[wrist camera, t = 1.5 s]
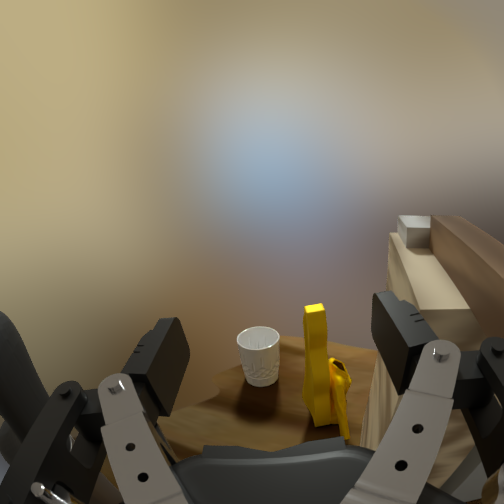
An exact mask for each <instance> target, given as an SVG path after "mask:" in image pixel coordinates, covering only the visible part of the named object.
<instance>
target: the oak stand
mask: <svg viewBox="0 0 504 504" xmlns="http://www.w3.org/2000/svg"><path fill="white" fill-rule="evenodd" d="M390 290H391V291H393V293H394V294H395V295H396V297H397V298H398V299H399V301H401V300H406V301H407V302H409V303H411V304H413V305H414V306H415V307H416V309H417V310H418V311H419V313H420V314H421V315H422V316H423V318H424V320H426V322H427V323H428V324H429V326H430V327H431V328H432V330H433V331H434V333H435V334H436V335H437V337H438V338H439V339H440V340H447V341H450V342H452V343H454V344H455V345H456V346H457V347H458V348H459V350H460V351H474V350H479V349H480V346H481V343H482V342H483V341H484V340H485V339H486V338H487V337H486V335H485V333H484V332H483V330H482V328H481V326H480V325H479V323H478V321H477V319H476V318H475V316H474V314H473V313H472V311H471V309H470V308H469V306H468V305H467V303H466V301H465V300H464V298H463V297H462V295H461V294H460V292H459V290H458V289H457V287H456V286H455V284H454V283H453V281H452V280H451V279H450V277H449V276H448V274H447V273H446V271H445V270H444V269H443V267H442V266H441V264H440V263H439V262H438V260H437V259H436V257H435V256H434V255H433V253H432V252H431V251H430V249H429V248H406V247H405V245H404V243H403V242H402V240H401V238H400V236H399V234H398V233H389V256H388V272H387V285H386V291H390ZM403 395H404V394H403ZM403 395H399V396H398V395H397V392H396V390H395V387H394V385H393V383H392V380H391V378H390V375H389V373H388V371H387V369H386V366H385V364H384V362H383V359H382V357H381V355H380V353H379V351H378V354H377V360H376V365H375V370H374V375H373V380H372V385H371V389H370V394H369V398H368V402H367V407H366V411H365V415H364V418H363V424H362V433H361V442H360V446H361V447H365V448H369V449H371V450H374V451H376V450H377V448H378V446H379V444H380V442H381V441H382V439H383V437H384V435H385V433H386V431H387V429H388V427H389V425H390V423H391V421H392V419H393V417H394V415H395V413H396V411H397V409H398V406H399V404H400V402H401V400H402V398H403ZM494 395H495V394H494ZM495 397H496V399H497V401H498V403H499V404H500V402H499V400H498V398H497V396H496V395H495ZM500 405H501V404H500ZM474 445H475V443H474V440H473V438H472V435H471V433H470V430H469V428H468V425H467V423H466V421H465V419H464V416H463V414H462V412H461V410H460V409H455V410H451V414H450V417H449V421H448V424H447V427H446V431H445V434H444V437H443V440H442V443H441V446H440V448H439V451H438V454H437V457H436V459H435V462H434V464H433V467H432V469H431V472H430V474H429V476H428V479H427V481H426V482H428V483H430V484H431V485H433V486H435V487H437V488H440V487H441V486H442V485H443V484H444V483H445V482H446V480H447V479H448V478H449V477H450V476H451V475H452V474H453V472H454V471H455V470H456V469H457V468H458V466H459V465H460V464H461V463H462V461H463V460H464V459H465V458H466V456H467V455H468V454H469V452H470V451H471V450H472V448H473V447H474Z"/></svg>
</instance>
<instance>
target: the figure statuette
mask: <svg viewBox="0 0 504 504" xmlns="http://www.w3.org/2000/svg"><path fill="white" fill-rule="evenodd" d="M303 329H304V340H305V377H304V384H303V391H302V398H303V400H304V403H305V405H306V406H307V408H308V410H309V411H310V413H311V415H312V417H313V420H314V425H315V427H319V426H324V425H329V424H339V430H340V437H341V436H344V440H347V439H350V435H349V428H348V421H347V415H346V405H347V402H346V401H347V400H346V394H347V391H348V389H349V387H350V385H351V382H352V379H351V378H350V377H349V375H348V373H347V370H346V368H345V364H344V363H342V362H341V361H339V360H337V359H335V358H330V359H329V360H328V355H327V322H326V313H325V309H324V307H323V305H322V304H315V305H309V306H305V307H304V316H303Z"/></svg>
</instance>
